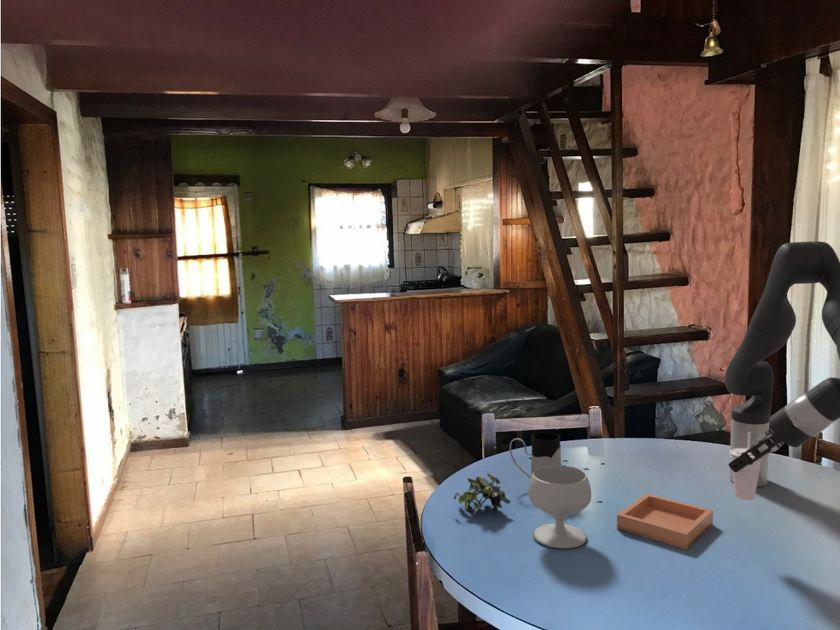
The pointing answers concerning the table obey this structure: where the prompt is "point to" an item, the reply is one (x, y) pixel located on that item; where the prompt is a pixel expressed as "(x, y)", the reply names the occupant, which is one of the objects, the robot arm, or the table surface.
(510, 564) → the table surface
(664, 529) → the dish
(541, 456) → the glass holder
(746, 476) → the smoothie
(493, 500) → the leafy green plant
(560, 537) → the chalice
